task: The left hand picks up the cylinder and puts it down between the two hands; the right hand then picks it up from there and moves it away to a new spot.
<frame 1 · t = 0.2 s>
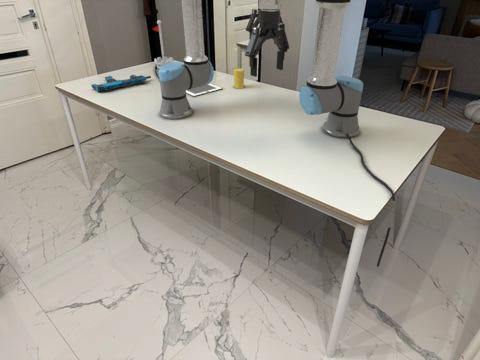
left hand: (266, 72, 128), 28 cm above the table, tool pointing down, fingers open, 13 cm apart
right hand: (264, 45, 167), 28 cm above the table, tool pointing down, fingers open, 13 cm apart
tablet: (192, 86, 203), on the table
flag stand: (164, 67, 239), on the table
submachine gun: (121, 83, 207), on the table
cylinder: (239, 86, 202), on the table
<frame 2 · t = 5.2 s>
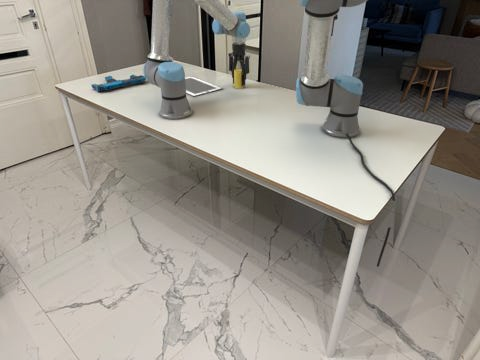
left hand: (239, 84, 201), 2 cm above the table, tool pointing down, fingers closed on cylinder, 6 cm apart
right hand: (323, 33, 161), 34 cm above the table, tool pointing down, fingers open, 13 cm apart
cylinder: (239, 86, 202), on the table, touching left hand
everything else where it was.
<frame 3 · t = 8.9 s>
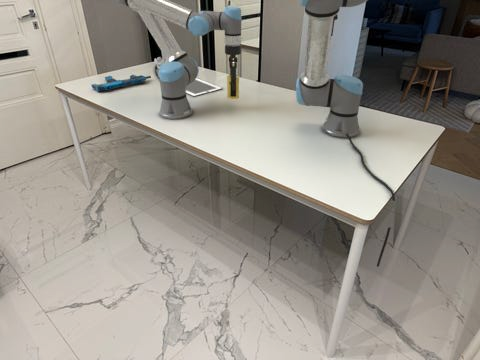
left hand: (233, 93, 168), 8 cm above the table, tool pointing down, fingers closed on cylinder, 6 cm apart
right hand: (323, 33, 161), 34 cm above the table, tool pointing down, fingers open, 13 cm apart
cylinder: (233, 96, 169), point 6 cm above the table, touching left hand
everything else where it was.
when the left hand's fingers open (3 cm above the table, at t = 13.0 s): cylinder drops 2 cm, on the table.
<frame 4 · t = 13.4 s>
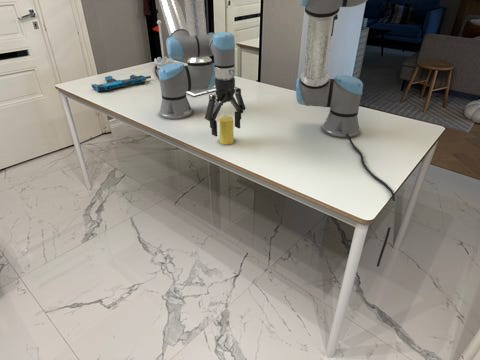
left hand: (226, 131, 139), 5 cm above the table, tool pointing down, fingers open, 11 cm apart
right hand: (323, 33, 161), 34 cm above the table, tool pointing down, fingers open, 13 cm apart
cylinder: (226, 141, 141), on the table
everything else where it was.
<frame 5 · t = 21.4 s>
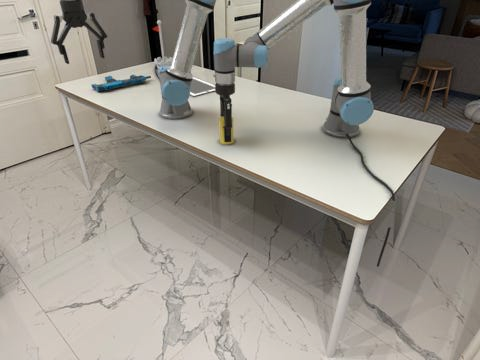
left hand: (85, 60, 133), 31 cm above the table, tool pointing down, fingers open, 13 cm apart
right hand: (226, 138, 140), 2 cm above the table, tool pointing down, fingers closed on cylinder, 6 cm apart
cylinder: (226, 141, 141), on the table, touching right hand
everything else where it was.
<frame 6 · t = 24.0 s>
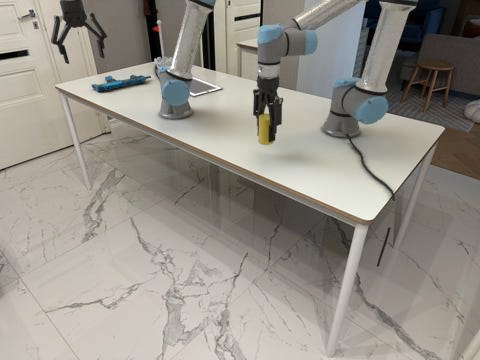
left hand: (85, 60, 133), 31 cm above the table, tool pointing down, fingers open, 13 cm apart
right hand: (266, 137, 127), 8 cm above the table, tool pointing down, fingers closed on cylinder, 6 cm apart
cylinder: (266, 141, 127), point 6 cm above the table, touching right hand
everything else where it was.
when the right hand's fingers open (3 cm above the table, at t = 26.7 s): cylinder drops 2 cm, on the table.
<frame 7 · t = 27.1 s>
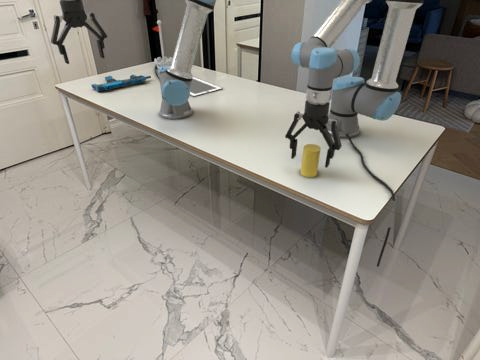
left hand: (85, 60, 133), 31 cm above the table, tool pointing down, fingers open, 13 cm apart
right hand: (309, 161, 118), 5 cm above the table, tool pointing down, fingers open, 11 cm apart
cylinder: (308, 173, 120), on the table
everything else where it was.
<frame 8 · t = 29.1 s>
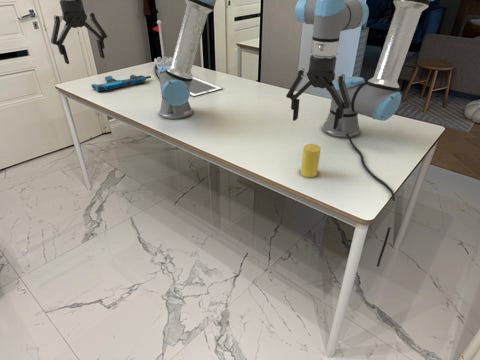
left hand: (85, 60, 133), 31 cm above the table, tool pointing down, fingers open, 13 cm apart
right hand: (314, 123, 110), 19 cm above the table, tool pointing down, fingers open, 13 cm apart
nothing on the table moved.
at the end: cylinder inside the target area (0.1 cm from its centre), on the table; cylinder tilted 0°; the two hands never held the cylinder at the same time; the left hand is holding nothing; the right hand is holding nothing; cylinder at rest at the end (0.0 cm/s) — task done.
